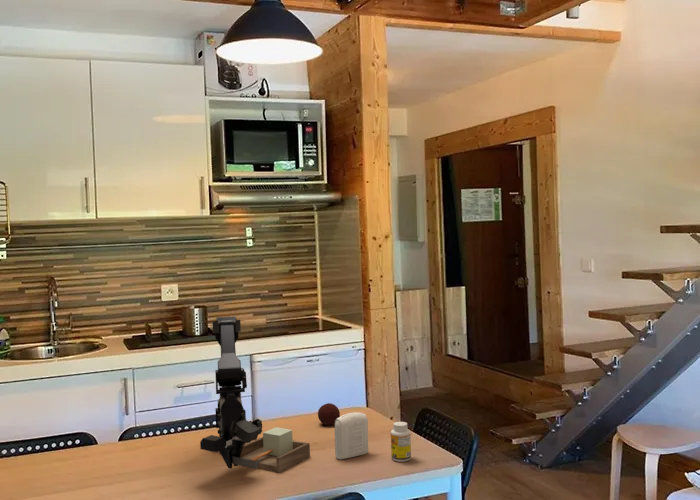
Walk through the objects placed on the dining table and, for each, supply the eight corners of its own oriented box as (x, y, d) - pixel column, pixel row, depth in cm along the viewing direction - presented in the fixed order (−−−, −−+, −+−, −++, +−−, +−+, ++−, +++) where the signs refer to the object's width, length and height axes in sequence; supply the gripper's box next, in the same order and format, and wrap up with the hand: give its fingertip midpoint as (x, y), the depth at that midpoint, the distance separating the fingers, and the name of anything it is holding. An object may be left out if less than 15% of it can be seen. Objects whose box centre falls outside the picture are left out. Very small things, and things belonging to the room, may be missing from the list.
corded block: (226, 466, 186) (225, 445, 185) (271, 446, 202) (270, 426, 202) (254, 473, 180) (253, 451, 180) (298, 451, 197) (297, 430, 196)
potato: (316, 427, 224) (315, 406, 224) (320, 420, 232) (320, 400, 232) (337, 428, 223) (337, 407, 223) (342, 421, 231) (341, 400, 231)
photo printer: (362, 449, 201) (361, 408, 201) (370, 453, 198) (369, 411, 197) (333, 457, 196) (331, 414, 195) (341, 461, 192) (339, 418, 192)
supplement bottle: (390, 456, 195) (389, 420, 195) (409, 455, 196) (408, 420, 195) (392, 462, 190) (391, 426, 189) (412, 462, 190) (411, 426, 190)
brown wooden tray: (235, 462, 193) (235, 449, 193) (267, 448, 205) (266, 435, 205) (279, 472, 184) (279, 458, 184) (309, 457, 196) (309, 443, 196)
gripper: (229, 423, 173) (231, 484, 173) (275, 405, 188) (277, 461, 189) (197, 417, 179) (199, 476, 179) (245, 401, 194) (246, 454, 195)
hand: (232, 467), depth 186 cm, fingers closed on corded block, 2 cm apart
